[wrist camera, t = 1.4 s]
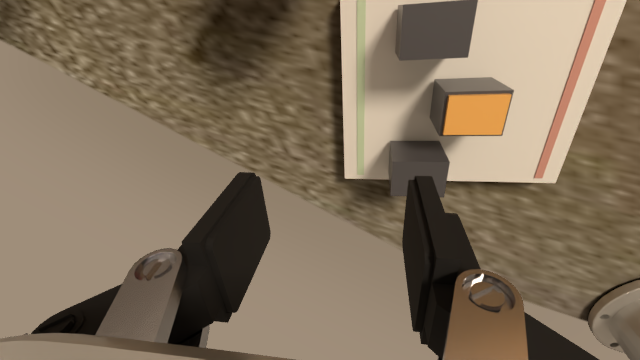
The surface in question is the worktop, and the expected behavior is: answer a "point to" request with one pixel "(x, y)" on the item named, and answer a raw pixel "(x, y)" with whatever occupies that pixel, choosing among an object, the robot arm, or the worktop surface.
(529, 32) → the breaker panel
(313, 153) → the worktop surface
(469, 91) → the block
